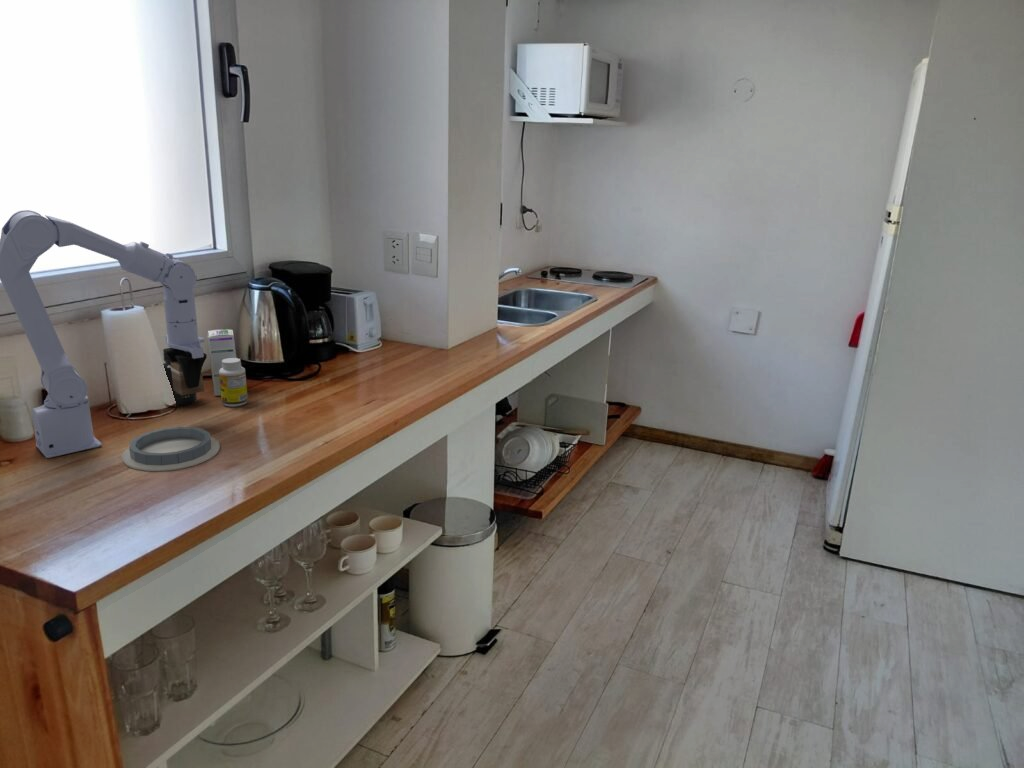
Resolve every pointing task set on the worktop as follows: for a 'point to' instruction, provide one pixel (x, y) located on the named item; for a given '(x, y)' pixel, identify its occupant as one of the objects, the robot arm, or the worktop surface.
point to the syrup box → (220, 353)
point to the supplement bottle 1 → (179, 399)
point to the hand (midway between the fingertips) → (188, 384)
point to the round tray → (170, 449)
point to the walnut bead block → (183, 381)
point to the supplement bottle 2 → (233, 383)
